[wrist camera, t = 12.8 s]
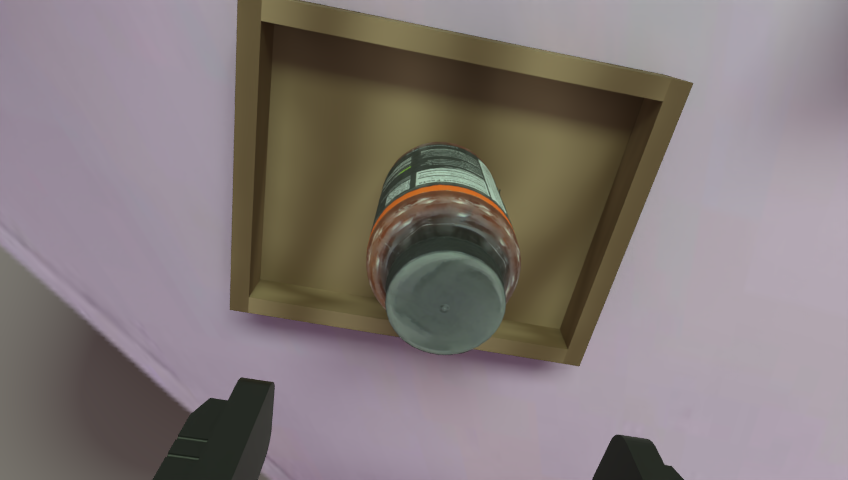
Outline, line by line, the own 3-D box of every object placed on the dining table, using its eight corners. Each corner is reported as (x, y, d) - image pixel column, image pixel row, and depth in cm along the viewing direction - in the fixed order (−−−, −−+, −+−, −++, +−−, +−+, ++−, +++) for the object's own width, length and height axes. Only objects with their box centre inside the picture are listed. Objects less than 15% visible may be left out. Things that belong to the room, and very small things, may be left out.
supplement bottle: (467, 258, 28) (487, 402, 18) (368, 221, 27) (329, 350, 17) (514, 163, 26) (570, 266, 15) (407, 119, 25) (390, 197, 15)
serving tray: (248, 282, 30) (229, 309, 27) (260, -8, 23) (237, -10, 21) (566, 335, 31) (579, 366, 29) (664, 74, 25) (693, 82, 22)
